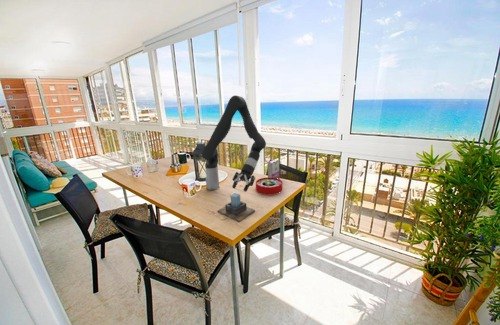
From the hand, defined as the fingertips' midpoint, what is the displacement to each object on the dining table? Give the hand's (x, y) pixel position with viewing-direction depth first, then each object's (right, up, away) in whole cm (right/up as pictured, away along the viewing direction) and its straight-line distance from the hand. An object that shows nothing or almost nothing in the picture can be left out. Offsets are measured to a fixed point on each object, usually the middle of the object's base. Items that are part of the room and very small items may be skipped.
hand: (238, 189), depth 118 cm
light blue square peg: (-2, -12, 0) cm, 13 cm away
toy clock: (+21, -4, +31) cm, 38 cm away
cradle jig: (-2, -13, 0) cm, 14 cm away
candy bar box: (+27, +2, +50) cm, 57 cm away
